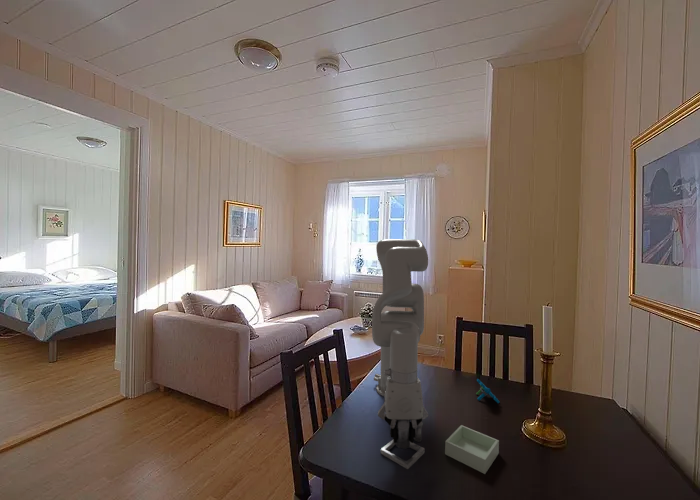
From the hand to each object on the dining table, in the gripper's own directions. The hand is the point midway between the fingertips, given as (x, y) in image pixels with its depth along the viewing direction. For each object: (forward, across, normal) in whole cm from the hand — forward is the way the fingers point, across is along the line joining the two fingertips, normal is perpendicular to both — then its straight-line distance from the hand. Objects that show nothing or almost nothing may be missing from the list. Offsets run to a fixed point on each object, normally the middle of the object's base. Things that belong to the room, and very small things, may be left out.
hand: (402, 439), depth 84 cm
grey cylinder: (+1, 0, 0) cm, 1 cm away
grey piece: (+4, +2, +1) cm, 4 cm away
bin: (+4, +19, -1) cm, 19 cm away
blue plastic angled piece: (+4, +37, +29) cm, 47 cm away
